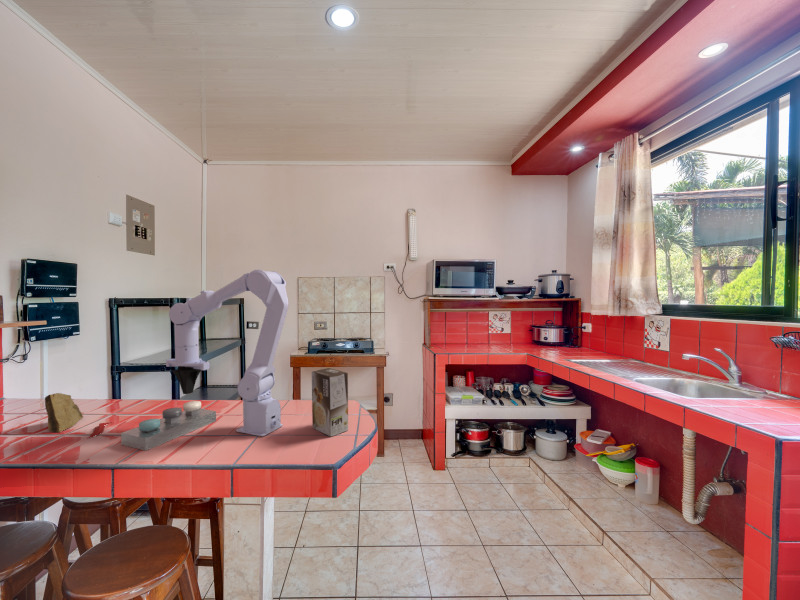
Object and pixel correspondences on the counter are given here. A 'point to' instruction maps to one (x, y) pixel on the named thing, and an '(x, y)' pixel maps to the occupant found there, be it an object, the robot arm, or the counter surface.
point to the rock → (61, 412)
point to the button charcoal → (172, 415)
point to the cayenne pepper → (99, 429)
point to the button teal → (149, 425)
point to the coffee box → (330, 401)
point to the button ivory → (192, 408)
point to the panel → (167, 430)
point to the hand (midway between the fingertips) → (188, 393)
